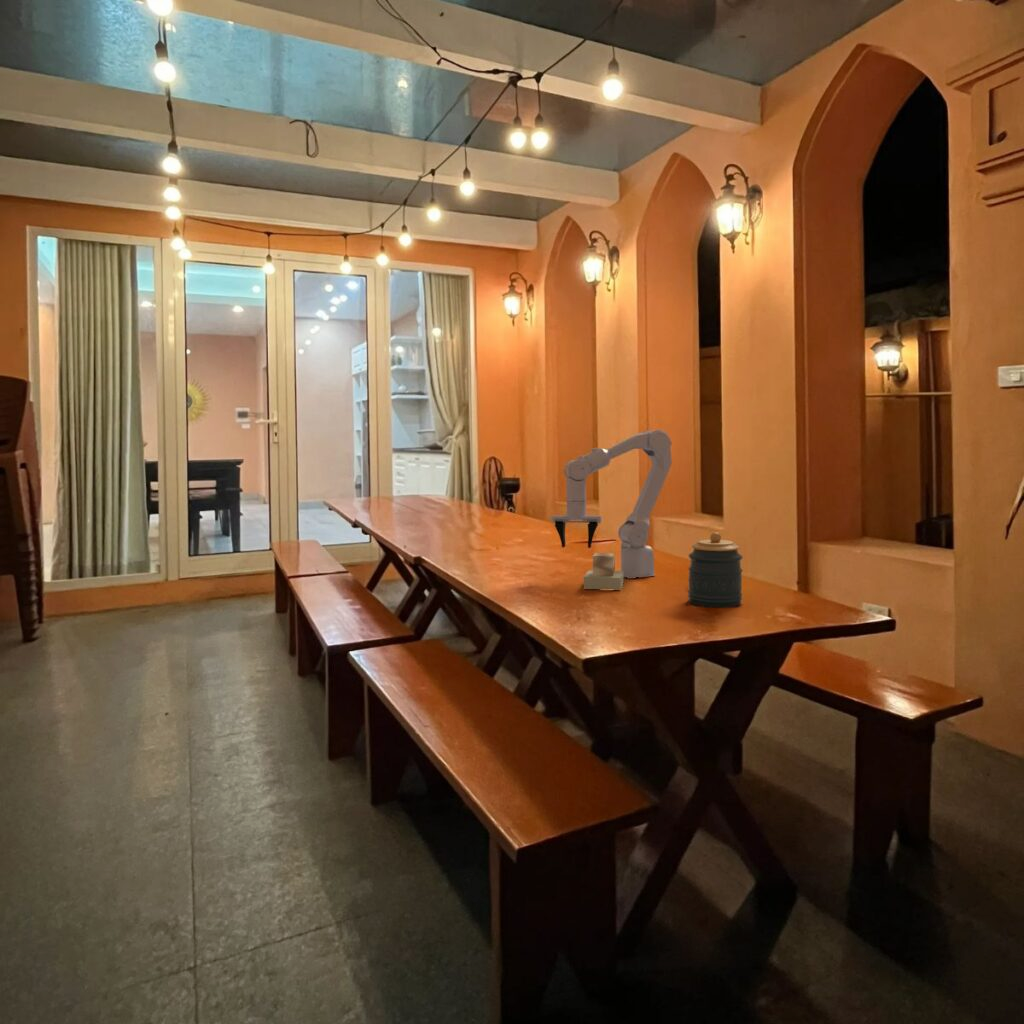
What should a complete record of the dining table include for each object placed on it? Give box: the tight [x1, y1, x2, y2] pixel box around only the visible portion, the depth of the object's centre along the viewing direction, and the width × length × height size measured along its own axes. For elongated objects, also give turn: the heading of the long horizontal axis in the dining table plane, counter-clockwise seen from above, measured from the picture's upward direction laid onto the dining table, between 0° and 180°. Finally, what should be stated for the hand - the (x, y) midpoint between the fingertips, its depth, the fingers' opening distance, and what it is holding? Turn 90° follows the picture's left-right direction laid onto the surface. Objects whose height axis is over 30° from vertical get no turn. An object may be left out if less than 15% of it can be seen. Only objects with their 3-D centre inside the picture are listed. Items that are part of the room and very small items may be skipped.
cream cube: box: [592, 552, 616, 576], centre depth 203 cm, size 6×6×6 cm
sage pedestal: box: [583, 570, 625, 591], centre depth 203 cm, size 10×10×4 cm
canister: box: [687, 531, 743, 609], centre depth 181 cm, size 13×13×18 cm
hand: (576, 547), depth 215 cm, fingers open, 7 cm apart
